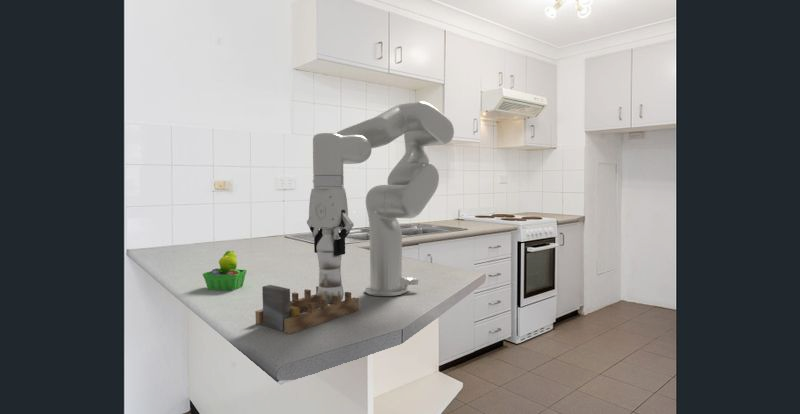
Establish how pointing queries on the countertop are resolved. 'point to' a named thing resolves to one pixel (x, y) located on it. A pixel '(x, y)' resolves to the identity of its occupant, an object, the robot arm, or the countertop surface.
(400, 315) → the countertop surface
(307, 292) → the wooden peg rack
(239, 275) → the fruit basket
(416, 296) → the countertop surface
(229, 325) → the countertop surface
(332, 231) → the grey bulging hollow cylinder
